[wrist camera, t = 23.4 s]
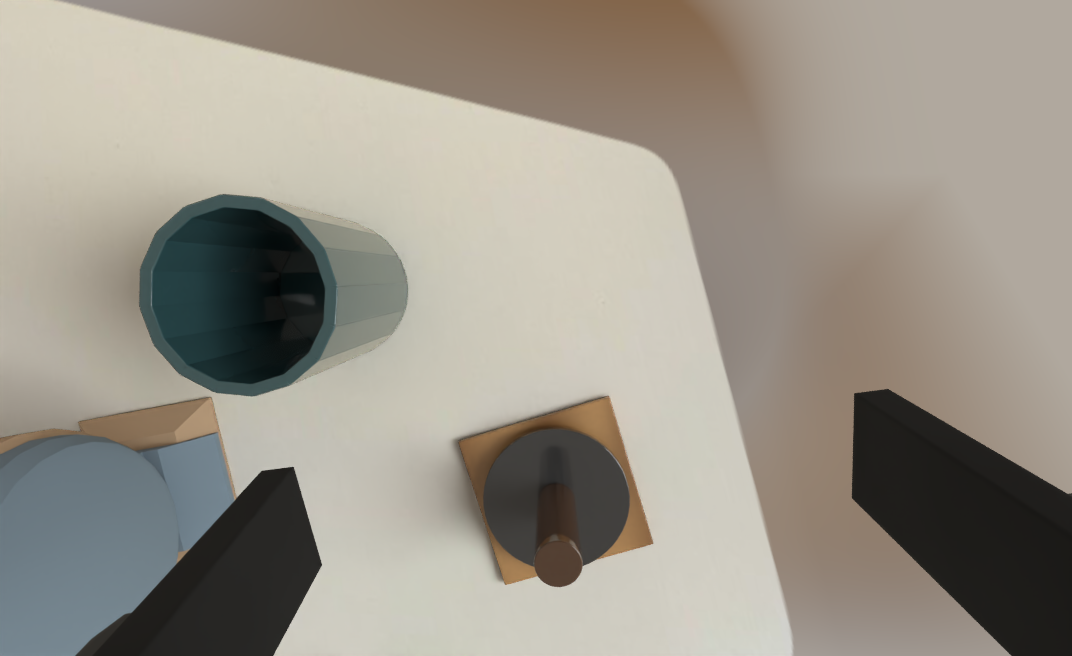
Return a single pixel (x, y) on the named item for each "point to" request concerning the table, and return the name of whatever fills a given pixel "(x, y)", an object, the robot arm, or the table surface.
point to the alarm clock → (101, 519)
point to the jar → (266, 293)
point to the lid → (556, 501)
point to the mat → (584, 417)
